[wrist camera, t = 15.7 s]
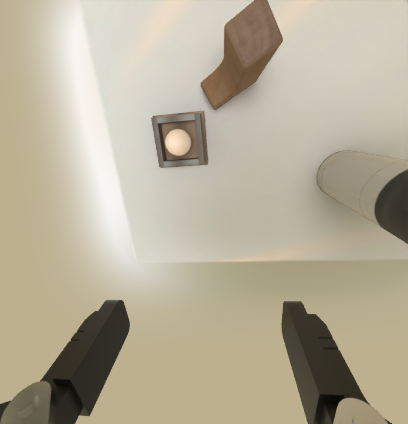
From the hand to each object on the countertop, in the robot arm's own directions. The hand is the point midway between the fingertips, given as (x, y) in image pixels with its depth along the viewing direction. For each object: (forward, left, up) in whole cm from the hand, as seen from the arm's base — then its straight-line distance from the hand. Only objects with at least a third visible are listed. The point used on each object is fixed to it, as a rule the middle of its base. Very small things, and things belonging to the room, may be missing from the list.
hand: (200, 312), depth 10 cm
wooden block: (-3, -16, -36) cm, 40 cm away
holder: (+7, -7, -36) cm, 37 cm away
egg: (+7, -7, -35) cm, 37 cm away
